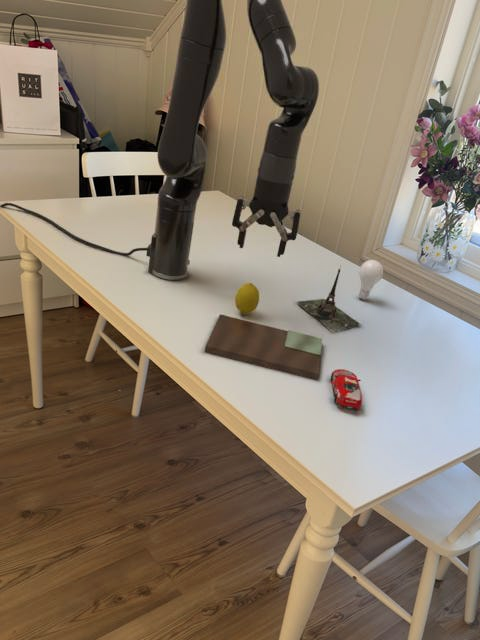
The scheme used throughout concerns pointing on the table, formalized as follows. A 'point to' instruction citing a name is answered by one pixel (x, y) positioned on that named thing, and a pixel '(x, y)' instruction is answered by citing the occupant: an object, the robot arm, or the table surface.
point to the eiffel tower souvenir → (329, 311)
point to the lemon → (247, 298)
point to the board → (266, 346)
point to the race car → (346, 389)
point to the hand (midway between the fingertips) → (259, 251)
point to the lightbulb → (369, 277)
